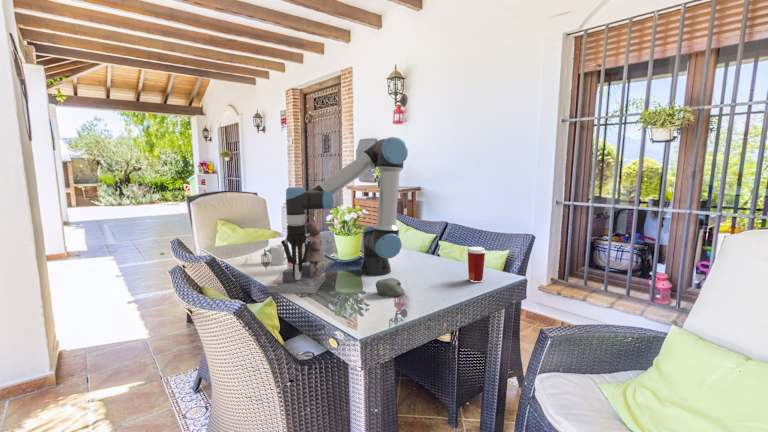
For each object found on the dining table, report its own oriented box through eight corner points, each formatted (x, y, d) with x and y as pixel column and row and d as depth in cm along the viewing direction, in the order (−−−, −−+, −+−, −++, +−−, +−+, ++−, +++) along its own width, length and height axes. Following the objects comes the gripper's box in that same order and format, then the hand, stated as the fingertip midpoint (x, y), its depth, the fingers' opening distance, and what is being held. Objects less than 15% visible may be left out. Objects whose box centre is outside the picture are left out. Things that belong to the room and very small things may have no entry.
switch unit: (325, 279, 177) (325, 270, 177) (314, 293, 158) (314, 284, 157) (283, 278, 179) (283, 270, 178) (267, 292, 159) (267, 283, 158)
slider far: (313, 273, 175) (313, 261, 174) (310, 277, 170) (310, 264, 169) (305, 273, 175) (304, 261, 174) (301, 276, 170) (301, 264, 169)
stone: (402, 298, 150) (391, 276, 150) (383, 307, 152) (371, 285, 152) (406, 291, 159) (395, 270, 159) (388, 299, 161) (377, 278, 161)
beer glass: (486, 279, 175) (487, 247, 173) (483, 284, 168) (483, 251, 166) (468, 277, 178) (468, 245, 177) (464, 282, 171) (464, 249, 169)
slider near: (295, 280, 165) (295, 267, 165) (292, 283, 160) (291, 270, 160) (286, 280, 166) (286, 267, 165) (283, 283, 161) (282, 270, 160)
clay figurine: (314, 274, 186) (312, 223, 183) (297, 272, 190) (295, 222, 187) (328, 267, 198) (327, 220, 195) (312, 265, 202) (310, 219, 199)
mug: (286, 266, 200) (286, 248, 199) (268, 264, 205) (267, 246, 204) (296, 263, 208) (295, 245, 206) (278, 261, 212) (277, 244, 211)
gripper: (313, 223, 163) (315, 276, 166) (283, 222, 164) (285, 276, 167) (309, 225, 155) (310, 281, 158) (277, 225, 156) (280, 281, 159)
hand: (297, 278), depth 162 cm, fingers closed
